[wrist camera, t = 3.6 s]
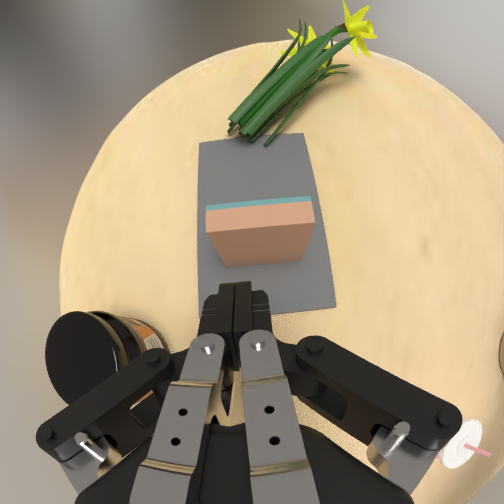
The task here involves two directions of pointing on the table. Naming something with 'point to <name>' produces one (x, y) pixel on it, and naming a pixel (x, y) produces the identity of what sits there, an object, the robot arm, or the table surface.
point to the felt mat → (260, 188)
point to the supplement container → (94, 350)
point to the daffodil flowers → (298, 74)
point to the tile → (260, 230)
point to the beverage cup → (463, 445)
